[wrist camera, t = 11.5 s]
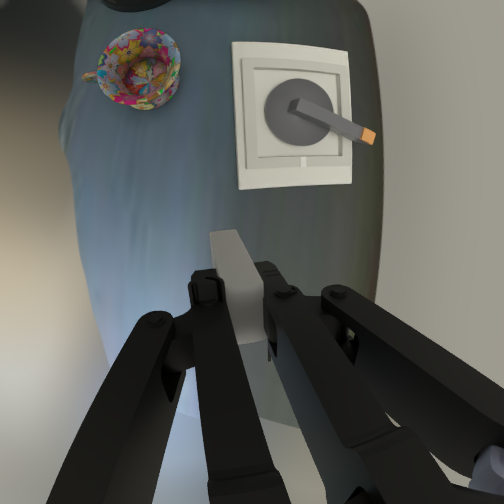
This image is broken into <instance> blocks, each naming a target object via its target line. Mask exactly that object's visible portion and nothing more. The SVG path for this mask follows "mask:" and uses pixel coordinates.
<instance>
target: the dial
mask: <svg viewBox="0 0 504 504" xmlns="http://www.w3.org/2000/svg"><path fill="white" fill-rule="evenodd" d="M264 113H265V119H266V122H267V125H268V127H269V129H270V130H271V132H272V133H273V134H274V135H275V136H276V137H277V138H278V139H280V140H281V141H283V142H285V143H287V144H290V145H295V146H309V145H313V144H316V143H318V142H319V141H321V140H322V139H323V138H324V137H325V136H326V135H327V134H328V133H329V131H333V132H335V133H337V134H339V135H341V136H343V137H345V138H348V139H350V140H352V141H354V142H356V143H358V144H369V145H372V144H373V141H374V138H375V135H376V133H374V132H372V131H370V130H368V129H367V128H363V127H361V126H359V125H357V124H355V123H353V122H351V121H349V120H347V119H345V118H343V117H341V116H339V115H337V114H335V113H334V109H333V105H332V102H331V99H330V98H329V96H328V94H327V93H326V92H325V90H324V89H323V88H322V87H320V86H319V85H318V84H316V83H314V82H312V81H310V80H307V79H301V78H295V79H290V80H286V81H284V82H282V83H281V84H279V85H277V86H276V87H275V88H274V89H273V90H272V91H271V92H270V93H269V95H268V97H267V99H266V102H265V108H264Z"/></svg>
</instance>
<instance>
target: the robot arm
mask: <svg viewBox="0 0 504 504" xmlns="http://www.w3.org/2000/svg"><path fill="white" fill-rule="evenodd" d="M101 1H102V2H103V3H104V4H105V5H106V6H108V7H109V8H111V9H114V10H118V11H124V12H135V11H143V10H147V9H151V8H154V7H157V6H160V5H162V4H164V3H166V2H168V1H170V0H101ZM209 233H210V244H211V253H212V263H213V269H206V270H198V271H195V272H194V273H193V274H192V276H191V281H190V282H189V284H188V291H189V297H190V303H191V309H190V310H189V311H188V312H186V313H185V314H183V315H180V316H178V317H175V318H173V316H172V315H171V314H170V313H168V312H166V311H152V312H149V313H147V314H145V315H143V316H142V317H141V318H140V319H139V320H138V322H137V323H136V325H135V327H134V328H133V330H132V332H131V333H130V335H129V337H128V339H127V340H126V342H125V344H124V346H123V347H122V349H121V351H120V353H119V354H118V356H117V358H116V360H115V362H114V363H113V365H112V367H111V369H110V371H109V372H108V374H107V376H106V378H105V380H104V382H103V384H102V385H101V387H100V389H99V391H98V393H97V395H96V397H95V399H94V401H93V403H92V405H91V406H90V408H89V410H88V412H87V415H86V416H85V418H84V420H83V422H82V424H81V426H80V429H79V431H78V433H77V435H76V437H75V439H74V441H73V443H72V445H71V447H70V449H69V451H68V454H67V456H66V458H65V460H64V462H63V465H62V467H61V469H60V471H59V474H58V476H57V478H56V481H55V483H54V485H53V488H52V490H51V493H50V495H49V497H48V500H47V502H46V504H152V501H153V497H154V493H155V489H156V485H157V481H158V477H159V473H160V469H161V464H162V461H163V457H164V453H165V449H166V446H167V442H168V438H169V434H170V431H171V427H172V423H173V419H174V416H175V412H176V408H177V405H178V401H179V398H180V394H181V390H182V387H183V383H184V380H185V376H186V370H187V369H189V368H192V367H195V371H196V381H197V392H198V401H199V410H200V419H201V427H202V435H203V442H204V450H205V456H206V462H207V470H208V477H209V478H208V479H209V480H208V482H207V487H208V495H209V501H210V504H291V502H290V499H289V496H288V493H287V490H286V488H285V485H284V482H283V479H282V477H281V475H280V473H279V471H278V470H277V469H276V468H275V467H274V464H273V461H272V458H271V455H270V452H269V449H268V446H267V442H266V439H265V436H264V433H263V429H262V426H261V423H260V420H259V416H258V413H257V410H256V406H255V403H254V399H253V396H252V393H251V389H250V386H249V382H248V379H247V375H246V372H245V368H244V365H243V361H242V358H241V354H240V350H239V347H238V345H239V344H245V343H252V342H258V341H264V340H265V332H266V335H267V337H268V362H269V361H271V357H272V359H273V362H274V364H275V367H276V369H277V372H278V374H279V377H280V379H281V382H282V384H283V387H284V389H285V392H286V394H287V397H288V399H289V402H290V404H291V407H292V409H293V412H294V414H295V417H296V419H297V421H298V424H299V426H300V429H301V431H302V434H303V436H304V438H305V441H306V443H307V446H308V448H309V450H310V452H311V455H312V457H313V460H314V462H315V465H316V467H317V469H318V472H319V474H320V476H321V479H322V481H323V483H324V486H325V490H326V500H327V504H504V389H503V388H502V387H500V386H499V385H497V384H496V383H495V382H493V381H492V380H490V379H489V378H487V377H486V376H484V375H483V374H481V373H480V372H478V371H477V370H476V369H474V368H473V367H471V366H469V365H468V364H467V363H465V362H464V361H462V360H461V359H459V358H458V357H456V356H455V355H453V354H452V353H450V352H449V351H447V350H446V349H444V348H443V347H441V346H440V345H438V344H436V343H435V342H433V341H432V340H430V339H429V338H427V337H425V336H424V335H423V334H421V333H420V332H418V331H417V330H415V329H413V328H412V327H411V326H409V325H407V324H406V323H404V322H403V321H401V320H400V319H398V318H397V317H395V316H394V315H392V314H390V313H389V312H387V311H386V310H384V309H383V308H381V307H379V306H378V305H376V304H375V303H373V302H372V301H370V300H368V299H367V298H365V297H364V296H362V295H361V294H359V293H357V292H356V291H354V290H353V289H351V288H349V287H347V286H343V285H338V284H337V285H336V284H335V285H330V286H327V287H325V288H323V290H322V291H321V296H304V295H303V293H302V292H301V291H300V290H299V289H298V288H297V287H295V286H292V285H288V284H287V282H286V281H285V279H284V278H283V276H282V275H281V273H280V272H279V271H278V269H277V267H276V266H275V265H274V264H273V263H271V262H269V261H264V262H256V263H253V261H252V259H251V258H250V256H249V254H248V252H247V250H246V248H245V246H244V244H243V242H242V240H241V238H240V236H239V234H238V233H237V231H236V229H232V230H223V231H214V232H209ZM349 330H352V331H353V332H354V333H355V336H354V338H352V337H351V336H350V335H349ZM385 412H386V413H387V414H388V415H389V416H390V417H391V418H392V419H394V421H396V422H397V423H398V424H399V425H400V426H401V427H397V426H395V425H394V424H393V423H392V422H391V421H390V419H389V418H388V416H387V415H386V413H385ZM429 451H430V452H431V453H432V454H433V455H434V456H435V457H437V458H438V459H439V460H440V461H441V462H443V463H444V464H445V465H447V466H448V467H449V468H451V469H452V470H454V471H456V472H458V473H459V474H461V475H463V476H466V477H468V478H471V479H472V480H471V481H470V482H469V486H468V487H469V488H467V487H463V486H459V485H456V484H453V483H450V481H449V480H448V478H447V477H446V475H445V474H444V472H443V471H442V469H441V468H440V467H439V465H438V464H437V462H436V461H435V459H434V458H433V457H432V455H431V454H430V452H429Z"/></svg>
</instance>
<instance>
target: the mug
mask: <svg viewBox="0 0 504 504" xmlns="http://www.w3.org/2000/svg"><path fill="white" fill-rule="evenodd" d="M180 62H181V58H180V51H179V48H178V46H177V44H176V43H175V41H174V40H173V39H172V38H171V37H170V36H169V35H168V34H166V33H164V32H162V31H160V30H157V29H152V28H140V29H135V30H131V31H128V32H126V33H124V34H122V35H120V36H119V37H117V38H116V39H114V40H113V41H112V42H111V43H110V44H109V45H108V46H107V48H106V49H105V50H104V52H103V54H102V55H101V57H100V60H99V63H98V67H97V71H92V72H88V73H85V74H84V75H83V76H82V80H83V81H84V82H89V83H99V86H100V88H101V90H102V91H103V92H104V94H105V95H106V96H107V97H109V98H110V99H111V100H113V101H115V102H118V103H121V104H126V105H130V106H132V107H134V108H136V109H140V110H151V109H155V108H158V107H160V106H162V105H164V104H165V103H167V102H168V101H169V100H170V99H171V98H172V97H173V95H174V94H175V92H176V91H177V88H178V85H179V79H180V77H179V68H180ZM95 77H97V78H95Z"/></svg>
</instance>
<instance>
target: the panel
mask: <svg viewBox="0 0 504 504" xmlns="http://www.w3.org/2000/svg"><path fill="white" fill-rule="evenodd" d="M231 53H232V76H233V97H234V118H235V138H236V157H237V175H238V189H239V190H243V189H256V188H269V187H285V186H303V185H325V184H351V183H352V140H350V139H348V138H345V137H343V136H341V135H339V134H337V133H335V132H333V131H329V133H328V134H327V135H326V136H325V137H324V138H323V139H322V140H321V141H319V142H318V143H316V144H313V145H309V146H295V145H290V144H287V143H285V142H283V141H281V140H280V139H278V138H277V137H276V136H275V135H274V134H273V133H272V132H271V130H270V129H269V127H268V125H267V122H266V119H265V113H264V108H265V102H266V99H267V97H268V95H269V93H270V92H271V91H272V90H273V89H274V88H275V87H276V86H277V85H279V84H281V83H282V82H284V81H286V80H290V79H295V78H301V79H307V80H310V81H312V82H314V83H316V84H318V85H319V86H320V87H322V88H323V89H324V90H325V92H326V93H327V94H328V96H329V98H330V99H331V102H332V105H333V109H334V113H335V114H337V115H339V116H341V117H343V118H345V119H347V120H349V121H351V122H352V119H351V94H350V77H349V64H348V53H347V52H345V51H340V50H334V49H327V48H320V47H313V46H304V45H295V44H283V43H266V42H232V44H231Z"/></svg>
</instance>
